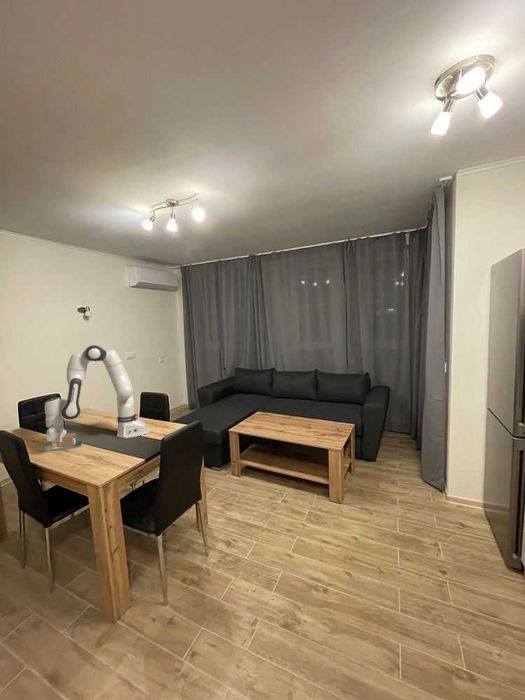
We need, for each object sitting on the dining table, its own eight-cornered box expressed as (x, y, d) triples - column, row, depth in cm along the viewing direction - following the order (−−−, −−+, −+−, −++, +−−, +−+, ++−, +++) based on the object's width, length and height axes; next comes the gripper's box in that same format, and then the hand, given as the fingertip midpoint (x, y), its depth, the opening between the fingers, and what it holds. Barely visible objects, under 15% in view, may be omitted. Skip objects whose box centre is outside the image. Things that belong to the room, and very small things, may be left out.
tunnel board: (83, 442, 197) (82, 431, 196) (80, 447, 190) (79, 436, 189) (48, 447, 190) (47, 435, 190) (44, 452, 183) (43, 440, 182)
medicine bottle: (67, 440, 202) (65, 423, 201) (55, 443, 196) (54, 426, 195) (62, 437, 206) (61, 421, 205) (51, 441, 200) (49, 424, 199)
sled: (75, 442, 194) (75, 434, 193) (74, 444, 190) (73, 437, 190) (54, 445, 190) (54, 437, 189) (52, 447, 186) (51, 439, 186)
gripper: (54, 427, 178) (56, 448, 180) (64, 417, 197) (66, 436, 199) (42, 428, 176) (44, 450, 177) (54, 418, 195) (55, 438, 197)
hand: (56, 443), depth 188 cm, fingers open, 6 cm apart
